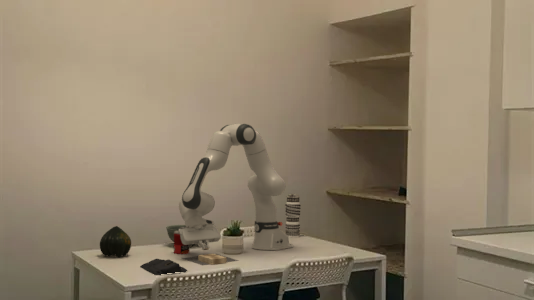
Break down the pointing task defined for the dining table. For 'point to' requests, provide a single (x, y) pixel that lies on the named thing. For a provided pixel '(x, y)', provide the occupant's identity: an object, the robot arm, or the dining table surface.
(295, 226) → the decorative candle
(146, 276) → the dining table surface
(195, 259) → the rubber mat
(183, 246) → the canned food
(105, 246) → the squash
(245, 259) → the dining table surface
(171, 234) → the bowl
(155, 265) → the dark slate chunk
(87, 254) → the dining table surface
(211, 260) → the beech tile
